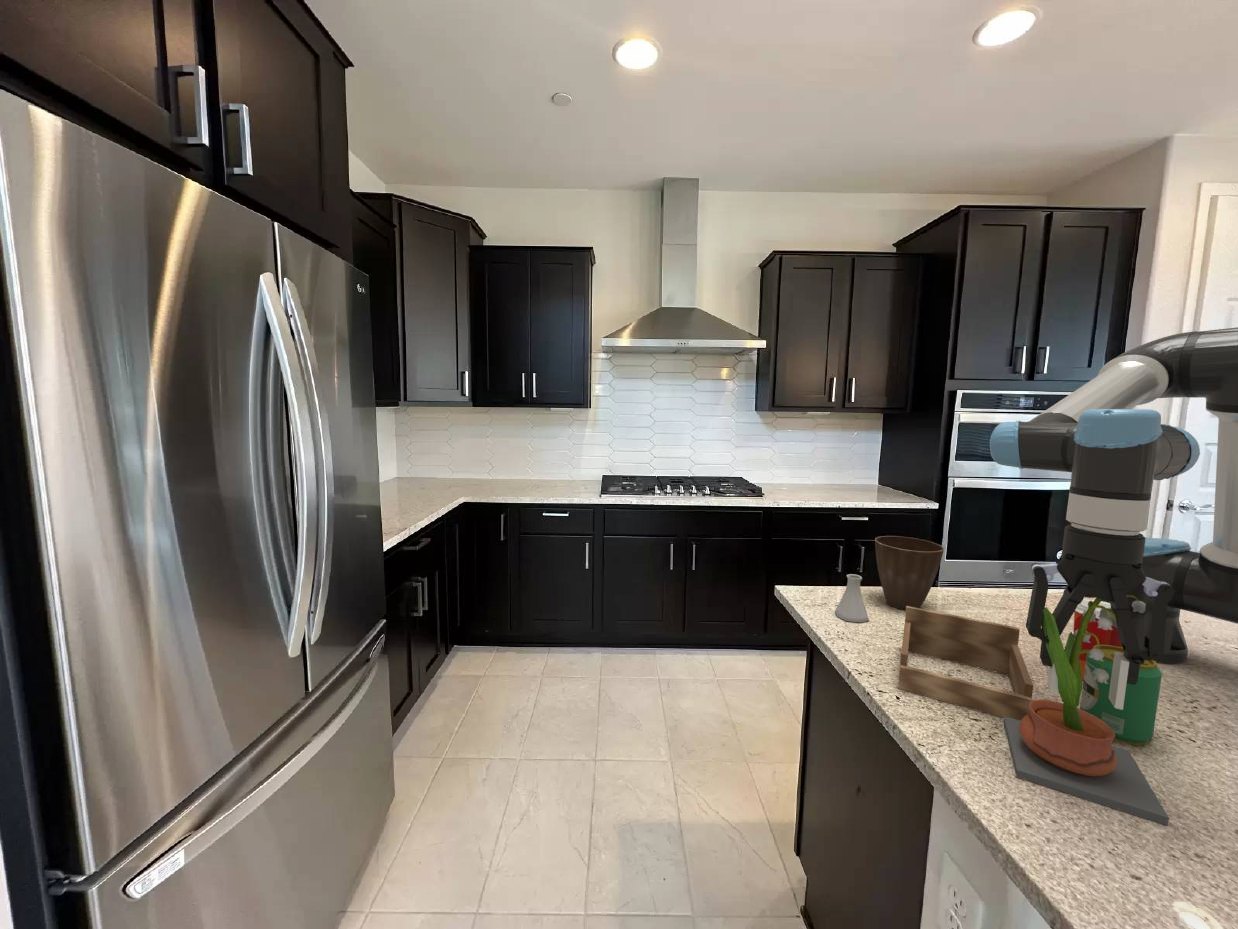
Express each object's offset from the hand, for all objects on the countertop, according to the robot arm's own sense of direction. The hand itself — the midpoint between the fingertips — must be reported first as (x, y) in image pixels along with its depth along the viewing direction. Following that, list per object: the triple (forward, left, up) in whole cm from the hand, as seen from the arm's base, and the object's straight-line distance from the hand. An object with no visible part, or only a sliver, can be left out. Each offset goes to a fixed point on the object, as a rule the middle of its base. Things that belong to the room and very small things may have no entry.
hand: (1082, 695), depth 66 cm
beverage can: (-7, -14, -11) cm, 19 cm away
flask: (+33, -37, -11) cm, 51 cm away
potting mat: (0, 0, -10) cm, 10 cm away
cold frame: (+13, -17, -10) cm, 24 cm away
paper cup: (-8, -32, -11) cm, 35 cm away
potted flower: (+1, 0, -9) cm, 9 cm away
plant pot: (+23, -53, -11) cm, 59 cm away
